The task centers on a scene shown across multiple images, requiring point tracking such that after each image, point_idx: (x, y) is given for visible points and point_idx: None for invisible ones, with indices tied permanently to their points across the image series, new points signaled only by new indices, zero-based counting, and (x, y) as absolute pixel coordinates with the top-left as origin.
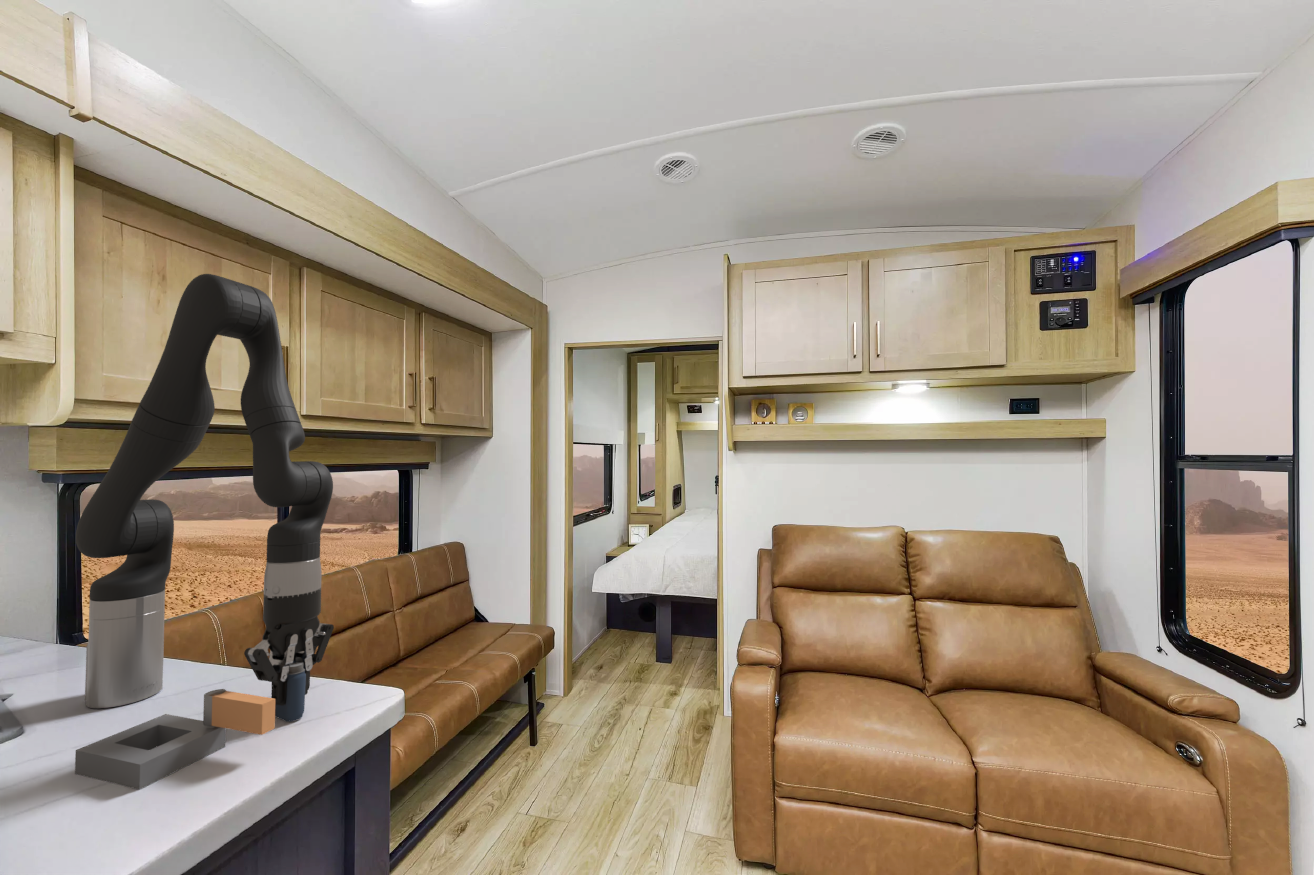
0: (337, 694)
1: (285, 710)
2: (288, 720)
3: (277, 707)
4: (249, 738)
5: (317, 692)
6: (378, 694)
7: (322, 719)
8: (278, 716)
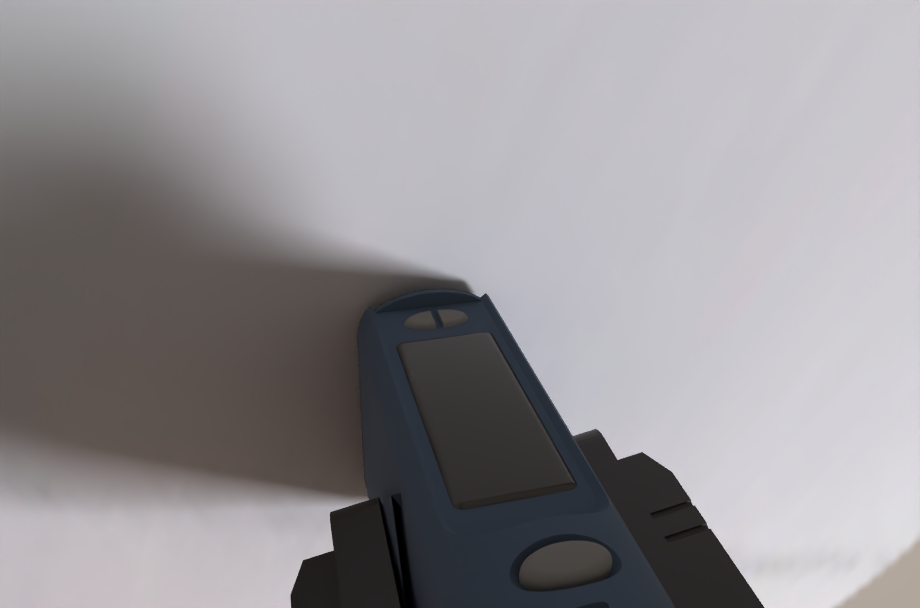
0: (861, 275)
1: None
2: None
3: (374, 419)
4: (77, 507)
5: (867, 73)
6: (906, 492)
7: None
8: (361, 394)
